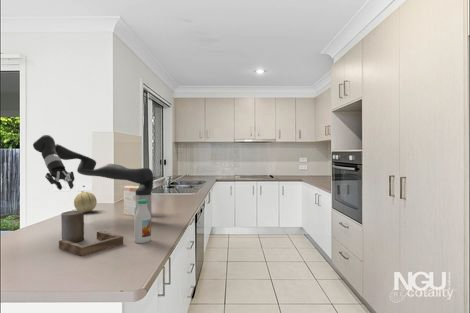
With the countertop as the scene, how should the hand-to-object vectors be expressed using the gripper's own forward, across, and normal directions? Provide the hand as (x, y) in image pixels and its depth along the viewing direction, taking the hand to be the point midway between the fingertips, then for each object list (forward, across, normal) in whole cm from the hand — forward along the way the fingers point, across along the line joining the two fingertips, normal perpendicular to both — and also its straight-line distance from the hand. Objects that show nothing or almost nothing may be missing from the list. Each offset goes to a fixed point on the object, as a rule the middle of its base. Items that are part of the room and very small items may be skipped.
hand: (66, 188), depth 155 cm
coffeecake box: (+10, -52, -25) cm, 58 cm away
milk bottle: (+47, -14, +13) cm, 51 cm away
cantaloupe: (-16, -38, -50) cm, 65 cm away
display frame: (+37, +4, +3) cm, 37 cm away
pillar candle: (+27, +4, -8) cm, 28 cm away
